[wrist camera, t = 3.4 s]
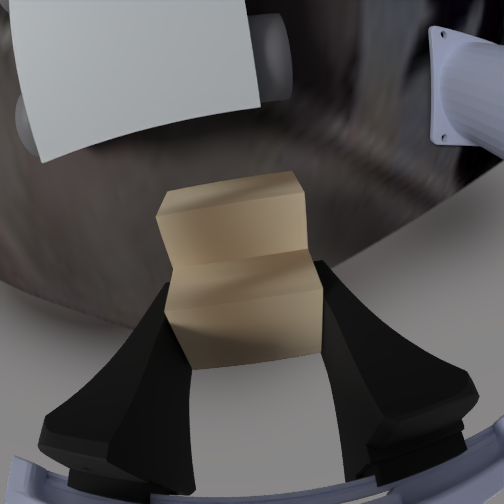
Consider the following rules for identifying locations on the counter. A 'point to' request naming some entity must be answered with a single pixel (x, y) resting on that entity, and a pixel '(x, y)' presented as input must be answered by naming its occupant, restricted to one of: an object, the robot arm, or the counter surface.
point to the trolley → (138, 66)
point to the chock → (241, 271)
